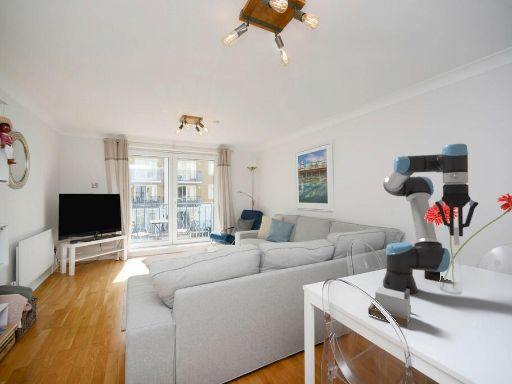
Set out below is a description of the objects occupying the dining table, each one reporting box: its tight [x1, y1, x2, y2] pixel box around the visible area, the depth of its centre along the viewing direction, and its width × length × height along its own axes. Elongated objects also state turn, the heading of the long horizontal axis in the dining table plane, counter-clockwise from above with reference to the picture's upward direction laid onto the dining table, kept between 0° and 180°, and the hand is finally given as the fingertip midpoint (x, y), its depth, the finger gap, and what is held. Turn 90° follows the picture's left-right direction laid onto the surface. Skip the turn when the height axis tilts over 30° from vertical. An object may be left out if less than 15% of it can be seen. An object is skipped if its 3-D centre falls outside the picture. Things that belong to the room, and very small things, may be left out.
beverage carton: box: [424, 271, 440, 282], centre depth 136 cm, size 8×19×7 cm, turn 139°
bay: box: [367, 302, 412, 328], centre depth 92 cm, size 14×13×3 cm
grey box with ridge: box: [374, 286, 411, 325], centre depth 92 cm, size 7×11×11 cm, turn 49°
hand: (456, 244), depth 88 cm, fingers closed
